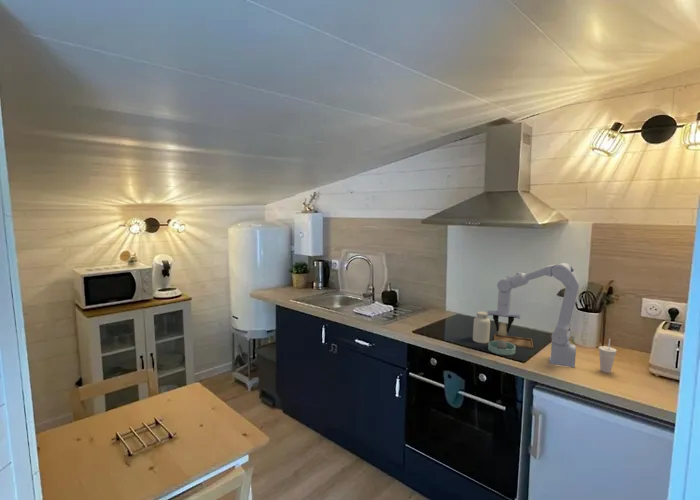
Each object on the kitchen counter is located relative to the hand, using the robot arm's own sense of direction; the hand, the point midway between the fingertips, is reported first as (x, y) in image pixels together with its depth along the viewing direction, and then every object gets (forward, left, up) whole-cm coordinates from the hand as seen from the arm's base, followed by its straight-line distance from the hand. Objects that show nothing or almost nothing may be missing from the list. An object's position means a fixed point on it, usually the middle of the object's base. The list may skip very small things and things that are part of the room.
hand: (502, 331), depth 186 cm
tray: (-5, -11, -9) cm, 15 cm away
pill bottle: (+10, -7, -9) cm, 15 cm away
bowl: (0, +3, -9) cm, 9 cm away
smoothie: (-41, +9, -9) cm, 43 cm away
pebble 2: (0, +6, -8) cm, 10 cm away
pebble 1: (0, 0, -1) cm, 1 cm away
